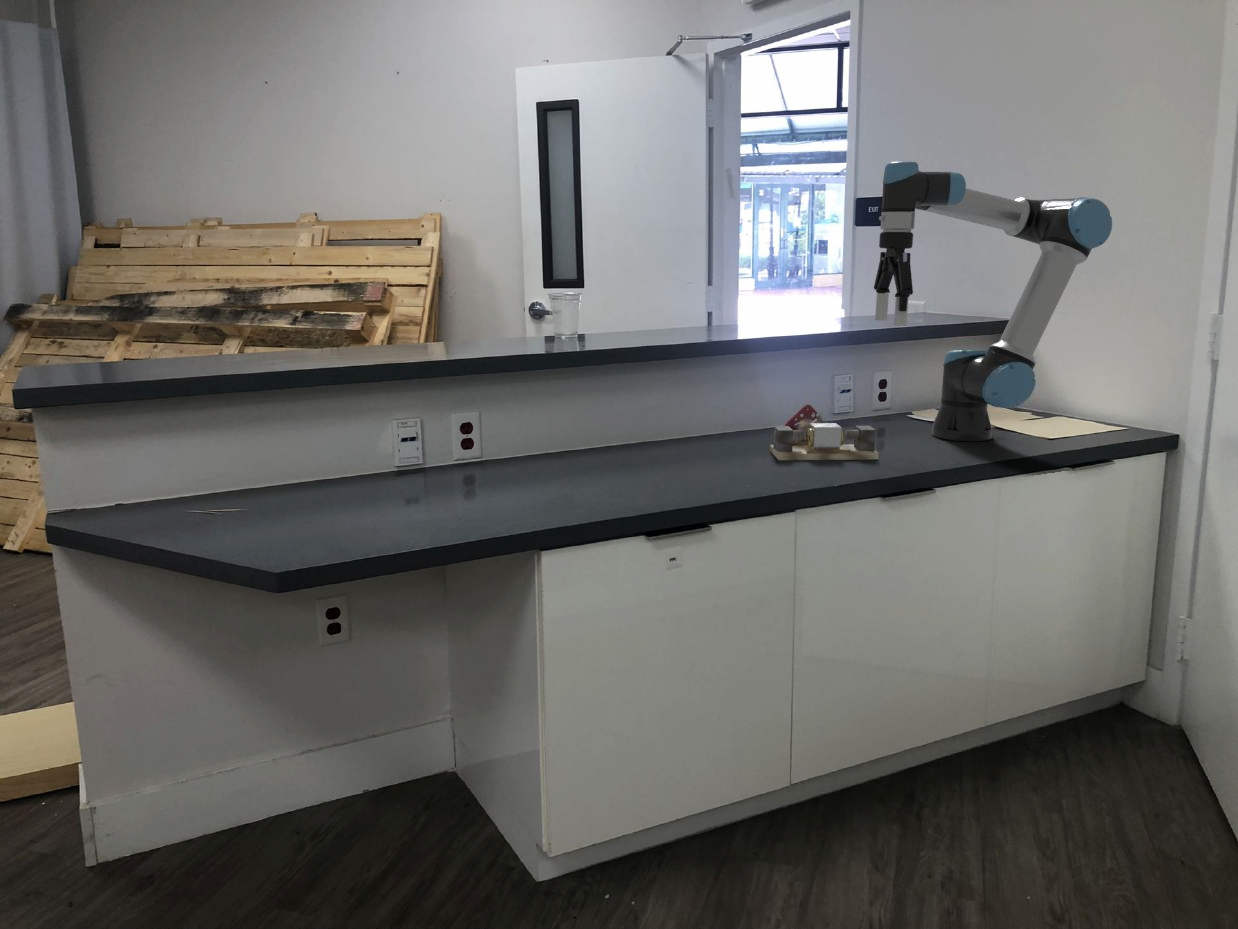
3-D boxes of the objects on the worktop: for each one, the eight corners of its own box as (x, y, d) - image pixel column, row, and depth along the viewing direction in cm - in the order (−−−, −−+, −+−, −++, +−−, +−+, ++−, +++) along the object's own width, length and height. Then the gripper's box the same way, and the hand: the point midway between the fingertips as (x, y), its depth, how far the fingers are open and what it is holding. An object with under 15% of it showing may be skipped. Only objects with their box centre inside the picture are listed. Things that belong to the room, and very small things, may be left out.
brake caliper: (824, 432, 250) (830, 401, 240) (829, 465, 243) (835, 434, 233) (780, 432, 250) (784, 401, 241) (783, 465, 243) (788, 434, 234)
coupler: (810, 451, 231) (811, 427, 230) (805, 447, 236) (806, 423, 235) (843, 451, 232) (844, 427, 230) (837, 447, 237) (838, 423, 235)
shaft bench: (865, 450, 240) (867, 423, 239) (878, 459, 231) (880, 431, 229) (769, 450, 239) (771, 424, 237) (778, 460, 229) (780, 432, 228)
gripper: (864, 231, 237) (858, 318, 242) (899, 231, 213) (892, 327, 218) (894, 231, 237) (888, 318, 242) (932, 231, 213) (924, 327, 218)
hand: (890, 323), depth 230 cm, fingers open, 13 cm apart
